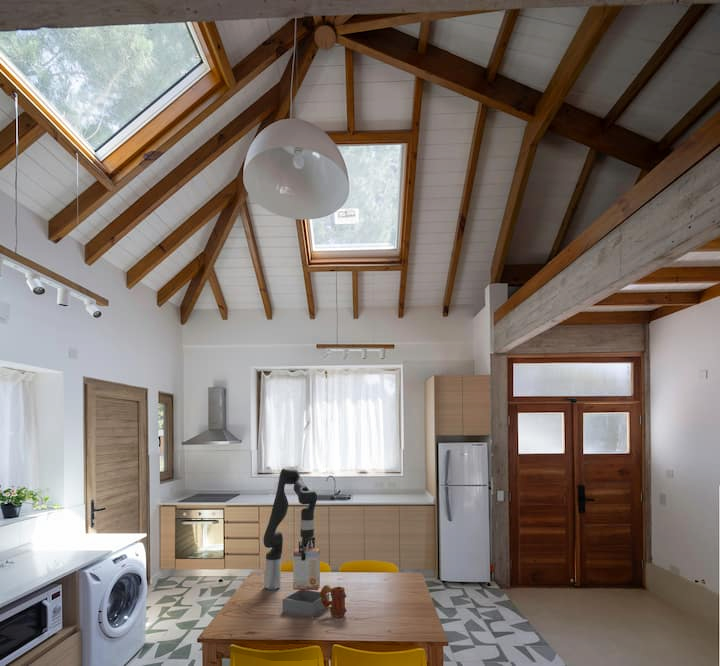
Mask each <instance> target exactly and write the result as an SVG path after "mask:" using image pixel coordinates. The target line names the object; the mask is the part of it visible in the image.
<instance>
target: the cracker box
mask: <svg viewBox="0 0 720 666" xmlns="http://www.w3.org/2000/svg"><path fill="white" fill-rule="evenodd" d="M320 564H321V549H320V548H313V549H312V548H307V550H306V552H305V561H303V560H301V553H299V547H298V548H297V547H296V548H294V550H293V570H292V571H293V573H292V574H293V576H292V577H293V580H292V581H293V582H292V583H293V584H292V587H293V588H292V589H293V590H295V591H297V590H312V591H319V590H320V586H321V585H320V583H321V565H320ZM293 590H292V591H293Z"/></svg>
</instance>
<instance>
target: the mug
mask: <svg viewBox="0 0 720 666" xmlns="http://www.w3.org/2000/svg"><path fill="white" fill-rule="evenodd" d="M320 592H321V593H320V597H321V602H322V603H323V605H324V606H325V607H328V606H329V607H328V608H329V611H330V615H331V616H332V618H336V619H340V618H342V617H345V613H347V611H348V610H347V608H346V599H345V598H347V595H346V592H345V587H343V586H334V587H331V586H330V585H329V584H325V585H323V587H321V590H320ZM327 593H329V596H330V597H331V600H329V601H328V600H327V598H326V594H327Z"/></svg>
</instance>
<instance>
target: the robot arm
mask: <svg viewBox="0 0 720 666" xmlns="http://www.w3.org/2000/svg"><path fill="white" fill-rule="evenodd" d="M278 477H279V478H278V481H277V482H278V483H277V488H276V493H275V494H276V495H275V497H274V501H273V505H272V509H271V513H270V517H269V521H268V524H267V526H266V530H265V532H264V535H263V546H264V547H265V548H266V549H270V548H271V549H270V550H269V551H268V552H267V553H266V554H265V571H264V572H263V588H264V587H265V588H264V589H266V588H267V589H266V590H269V589H274V590H278V589H277V588H279V589H280V588H281V577H282V576H281V572H282V571H281V569H282V567H281V564H282V560H281V559H282V554H283V543H284V538H283V537H284V536H283V533H282V532H281V531H280V530H277V529H278V527H279V526H280V524H281V522H282V521H284V519H285V517H286V515H287V513H288V510H289V501H288V498H287V495H286V493H285V485H293V491H294V493H295V494H296V495H297V499H298V503H299V504H301V505H308V506H307V507H304V508H302V509H301V510H300V513H301V514H300V535H299V536H300V537H301V541H299V542H298V548H299V553H301V560H303V561H305V552H306V550H307V548H312V549H316V547H315V546H316V537H315V521H314V520H315V519H314V517H315V516H314V515H315V509H316V508H315V507H316V504H317V500H318V494H317V492H316V491H315V490H310V489H309V488H308V486H307V485H306V484H305V483H304V481H303V479H302V477H301V475H300V473H299V471H298V469H294V468H282V469H281V470H280V473H279V476H278Z"/></svg>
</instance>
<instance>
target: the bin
mask: <svg viewBox="0 0 720 666" xmlns="http://www.w3.org/2000/svg"><path fill="white" fill-rule="evenodd" d="M320 593H321V591H319V590H295V592H294V591H293V592H292V593H291V594H288V595H287V596H284V597H283V598H282V613H284V612H285V614H290V615H295V614H297V615H296V616H301V615H302V616H301V617H306V616H309V617H308V618H312V617H313V618H314V617H315V615H316V616H317V615H318V613H319V614H320V613H321V611H322V612H323V611H325V610H326V609H328V608H327V607H325V606H324V605H323V603H322V602H321V597H320ZM326 598H327V600H328V601H330V592H329V593H327V594H326ZM325 608H326V609H325ZM324 609H325V610H324Z"/></svg>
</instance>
